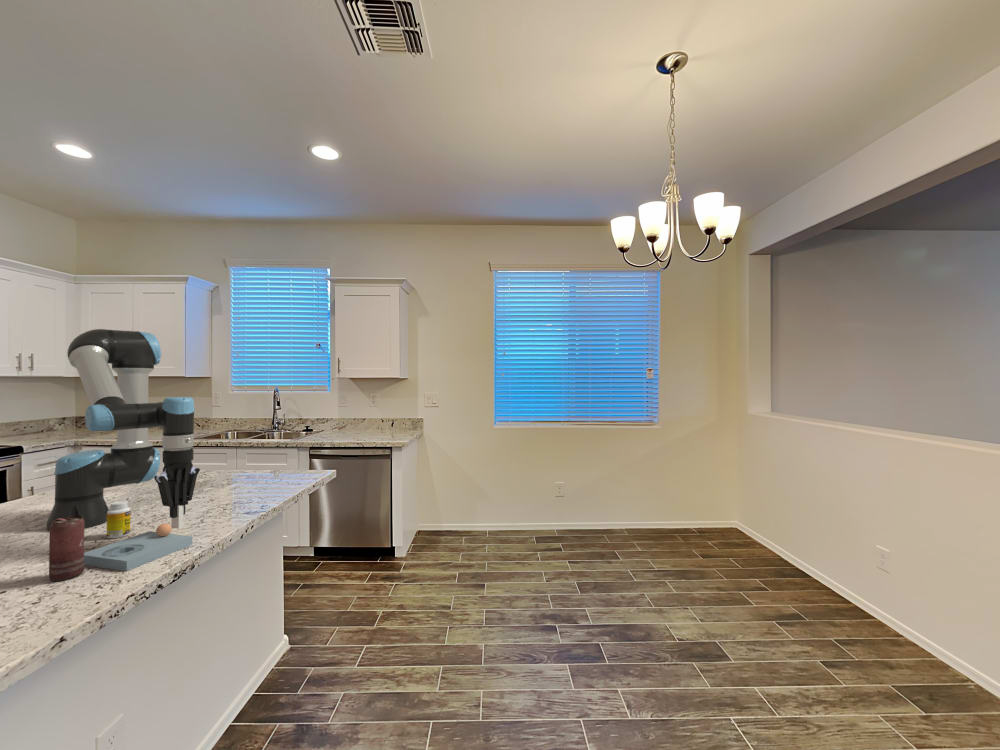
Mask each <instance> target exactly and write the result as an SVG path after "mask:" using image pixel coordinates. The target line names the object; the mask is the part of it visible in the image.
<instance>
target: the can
mask: <svg viewBox="0 0 1000 750" xmlns="http://www.w3.org/2000/svg"><path fill="white" fill-rule="evenodd" d="M48 540H49V544H48V545H49V546H48V548H49V549H48V550H49V551H48V552H49V553H48V555H49V557H48V579H49V580H50V581H51V582H65V581H69V580H72V579H75V578H78V577H80V576H81V575H82V574H84V571H85V565H84V553H85V528H84V519H83V517H82V516H72V517H65V518H58V519H56V520H54V521H52V523H51V525H50V530H49V539H48Z"/></svg>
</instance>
